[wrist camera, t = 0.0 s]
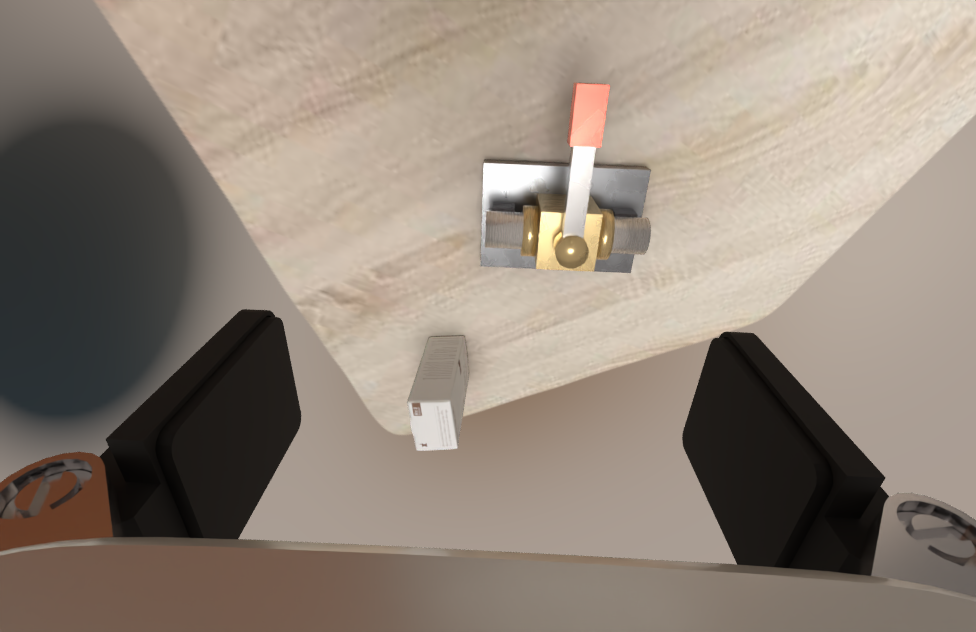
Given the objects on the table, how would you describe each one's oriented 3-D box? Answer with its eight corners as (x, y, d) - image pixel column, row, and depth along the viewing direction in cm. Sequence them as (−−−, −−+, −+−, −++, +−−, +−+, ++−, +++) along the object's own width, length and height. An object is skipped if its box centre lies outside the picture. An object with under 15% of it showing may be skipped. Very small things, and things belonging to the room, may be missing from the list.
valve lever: (582, 259, 40) (586, 269, 38) (551, 258, 40) (554, 267, 38) (607, 83, 33) (613, 85, 32) (570, 82, 33) (574, 83, 32)
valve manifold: (484, 159, 44) (480, 177, 37) (646, 166, 44) (671, 186, 37) (481, 260, 49) (477, 292, 42) (627, 267, 48) (646, 299, 42)
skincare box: (470, 377, 56) (461, 452, 45) (432, 378, 56) (415, 453, 45) (464, 332, 53) (454, 401, 42) (425, 334, 53) (405, 403, 42)
